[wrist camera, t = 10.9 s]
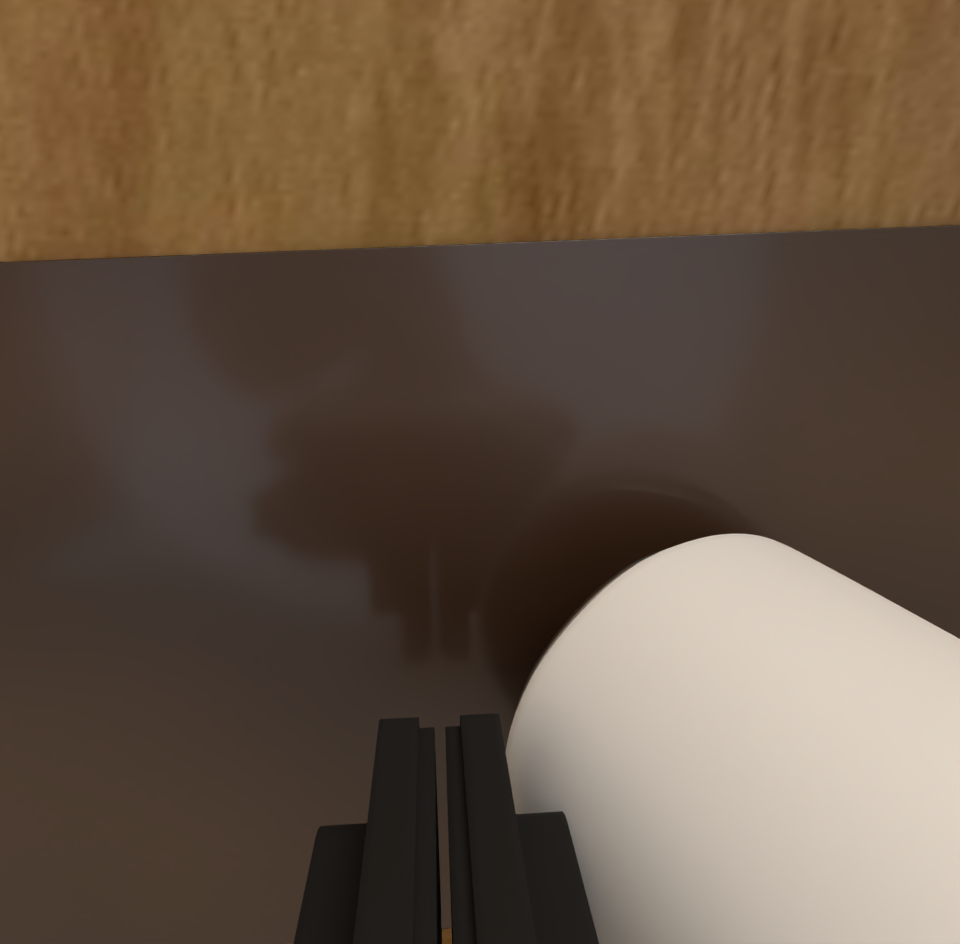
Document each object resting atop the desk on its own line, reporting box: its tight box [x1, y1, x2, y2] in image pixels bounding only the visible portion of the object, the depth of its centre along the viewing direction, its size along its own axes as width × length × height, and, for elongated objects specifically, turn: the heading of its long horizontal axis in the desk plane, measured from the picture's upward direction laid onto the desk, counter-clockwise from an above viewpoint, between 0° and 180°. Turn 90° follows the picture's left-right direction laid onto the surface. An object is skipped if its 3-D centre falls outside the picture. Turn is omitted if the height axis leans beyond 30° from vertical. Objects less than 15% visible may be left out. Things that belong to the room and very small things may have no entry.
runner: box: [0, 225, 960, 944], centre depth 13 cm, size 13×34×1 cm, turn 92°
